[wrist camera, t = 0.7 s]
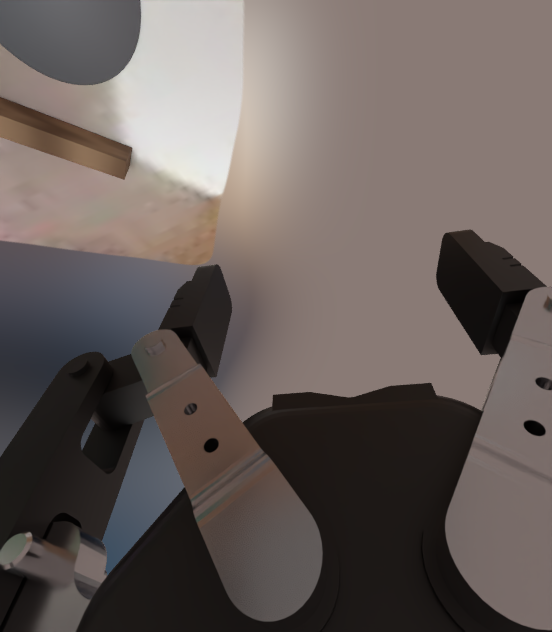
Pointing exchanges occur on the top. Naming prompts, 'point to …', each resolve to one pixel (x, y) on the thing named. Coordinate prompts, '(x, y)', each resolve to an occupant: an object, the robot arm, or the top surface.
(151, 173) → the top surface
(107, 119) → the top surface
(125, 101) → the top surface
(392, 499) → the robot arm
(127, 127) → the top surface
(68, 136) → the bar
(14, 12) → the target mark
